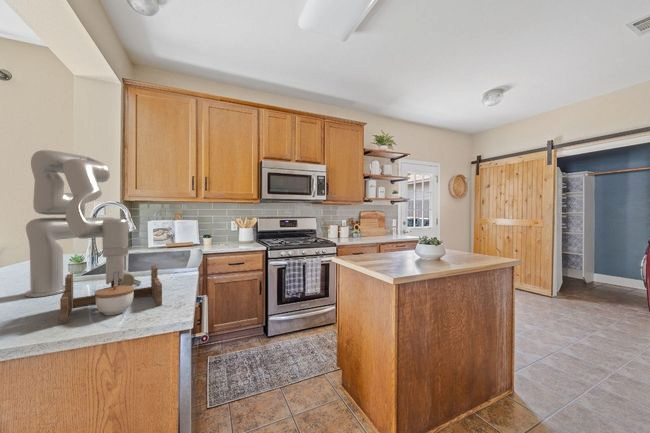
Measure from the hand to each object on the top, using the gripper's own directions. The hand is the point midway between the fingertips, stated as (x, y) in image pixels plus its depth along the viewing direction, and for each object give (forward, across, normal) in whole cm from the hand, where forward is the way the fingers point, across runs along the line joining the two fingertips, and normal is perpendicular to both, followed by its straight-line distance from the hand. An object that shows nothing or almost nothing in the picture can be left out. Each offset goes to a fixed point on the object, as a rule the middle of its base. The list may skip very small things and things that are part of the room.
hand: (115, 300), depth 99 cm
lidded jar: (+2, +8, 0) cm, 9 cm away
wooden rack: (+2, +2, 0) cm, 3 cm away
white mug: (+2, -25, +4) cm, 26 cm away
